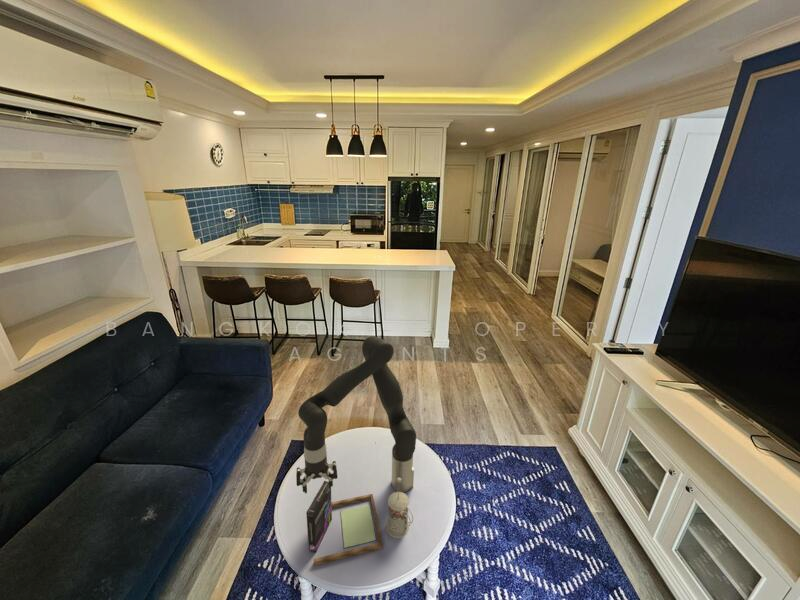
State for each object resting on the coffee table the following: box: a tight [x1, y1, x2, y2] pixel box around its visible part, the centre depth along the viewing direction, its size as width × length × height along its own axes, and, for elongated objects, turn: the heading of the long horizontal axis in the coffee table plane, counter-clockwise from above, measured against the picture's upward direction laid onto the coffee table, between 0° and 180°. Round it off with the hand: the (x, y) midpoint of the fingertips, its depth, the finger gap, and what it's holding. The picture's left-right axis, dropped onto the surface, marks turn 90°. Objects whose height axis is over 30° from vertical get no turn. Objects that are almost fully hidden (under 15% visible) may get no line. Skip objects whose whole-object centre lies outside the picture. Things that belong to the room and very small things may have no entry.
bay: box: [313, 493, 384, 567], centre depth 129 cm, size 25×22×2 cm
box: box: [305, 480, 333, 553], centre depth 123 cm, size 14×4×20 cm, turn 166°
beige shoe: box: [385, 478, 414, 539], centre depth 125 cm, size 10×12×25 cm
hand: (318, 489), depth 119 cm, fingers open, 8 cm apart
